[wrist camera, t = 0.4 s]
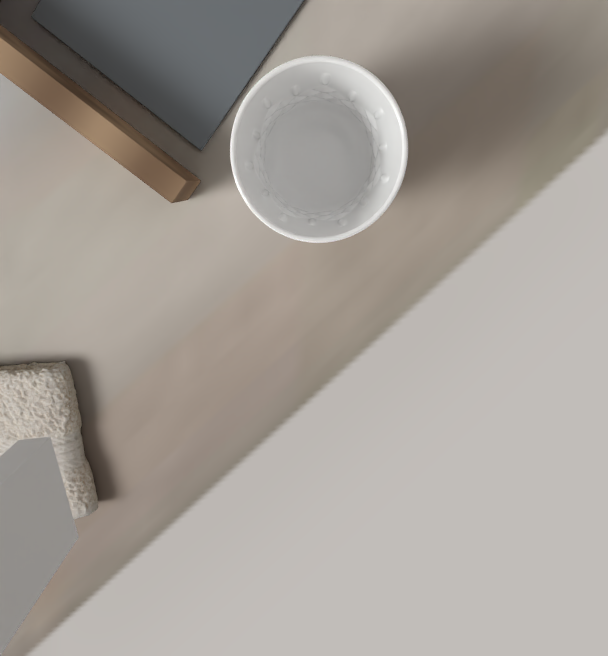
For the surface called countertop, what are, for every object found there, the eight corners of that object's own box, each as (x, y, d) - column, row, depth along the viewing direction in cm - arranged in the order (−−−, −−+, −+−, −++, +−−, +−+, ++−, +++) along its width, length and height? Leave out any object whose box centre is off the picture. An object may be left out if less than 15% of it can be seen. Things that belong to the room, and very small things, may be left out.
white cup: (281, 241, 35) (268, 267, 25) (234, 119, 33) (201, 97, 23) (397, 197, 34) (430, 206, 24) (356, 69, 32) (375, 24, 22)
